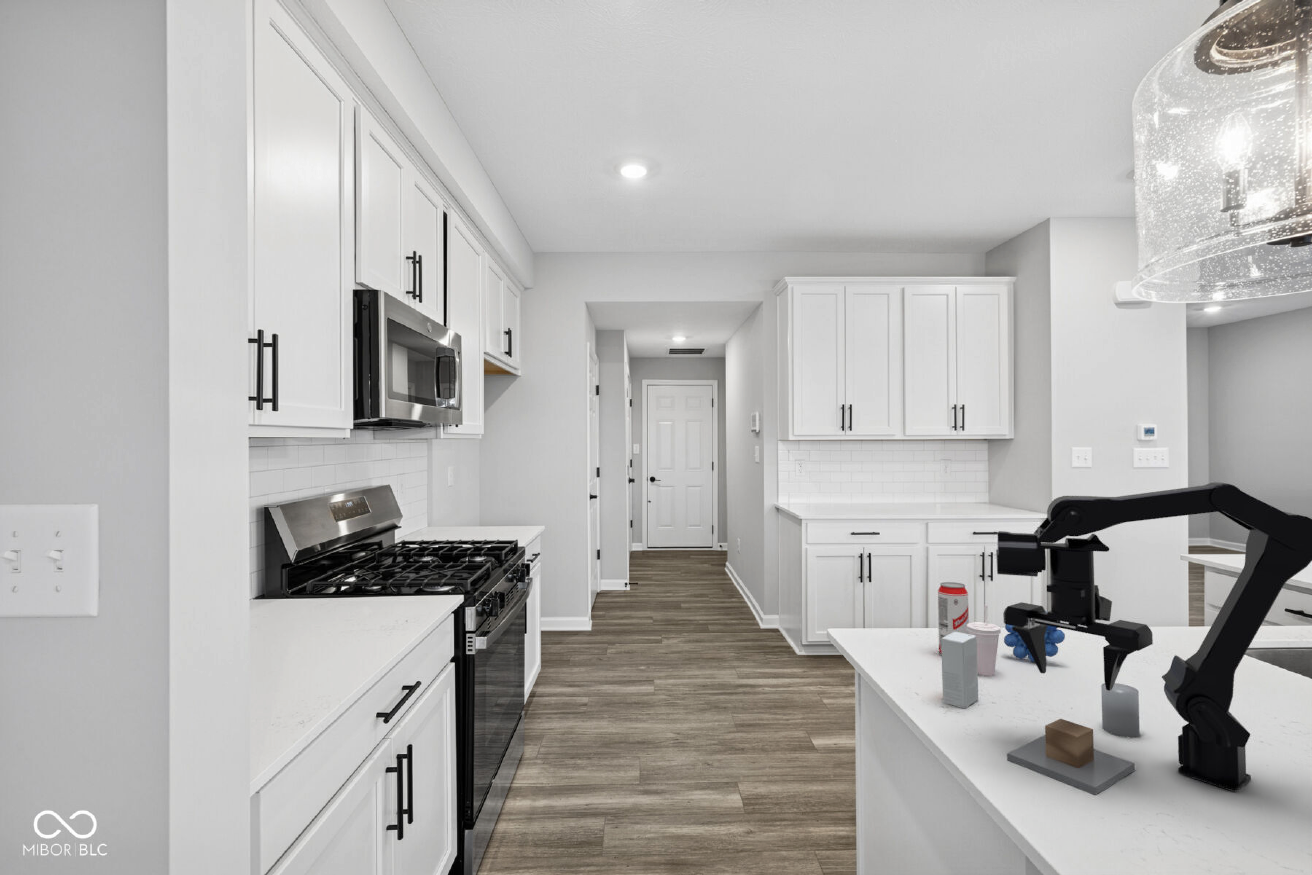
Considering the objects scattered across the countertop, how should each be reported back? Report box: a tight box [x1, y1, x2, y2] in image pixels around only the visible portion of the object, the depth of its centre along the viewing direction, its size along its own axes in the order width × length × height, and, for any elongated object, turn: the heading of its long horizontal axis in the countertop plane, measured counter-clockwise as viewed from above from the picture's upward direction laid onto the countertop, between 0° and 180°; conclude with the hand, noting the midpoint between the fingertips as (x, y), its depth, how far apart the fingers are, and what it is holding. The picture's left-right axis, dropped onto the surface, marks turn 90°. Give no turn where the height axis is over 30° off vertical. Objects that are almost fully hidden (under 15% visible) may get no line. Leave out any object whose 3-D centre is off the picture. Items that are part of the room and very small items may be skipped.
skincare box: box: [941, 632, 979, 709], centre depth 121 cm, size 6×4×12 cm
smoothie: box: [967, 604, 1002, 677], centre depth 135 cm, size 6×6×14 cm
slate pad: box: [1006, 734, 1136, 796], centre depth 96 cm, size 12×12×1 cm
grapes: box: [1003, 610, 1066, 663], centre depth 142 cm, size 12×7×12 cm, turn 51°
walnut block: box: [1044, 718, 1095, 768], centre depth 96 cm, size 4×4×4 cm
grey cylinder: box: [1100, 682, 1141, 739], centre depth 107 cm, size 5×5×7 cm
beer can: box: [937, 581, 970, 655], centre depth 146 cm, size 6×6×16 cm
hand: (1074, 680), depth 100 cm, fingers open, 9 cm apart
